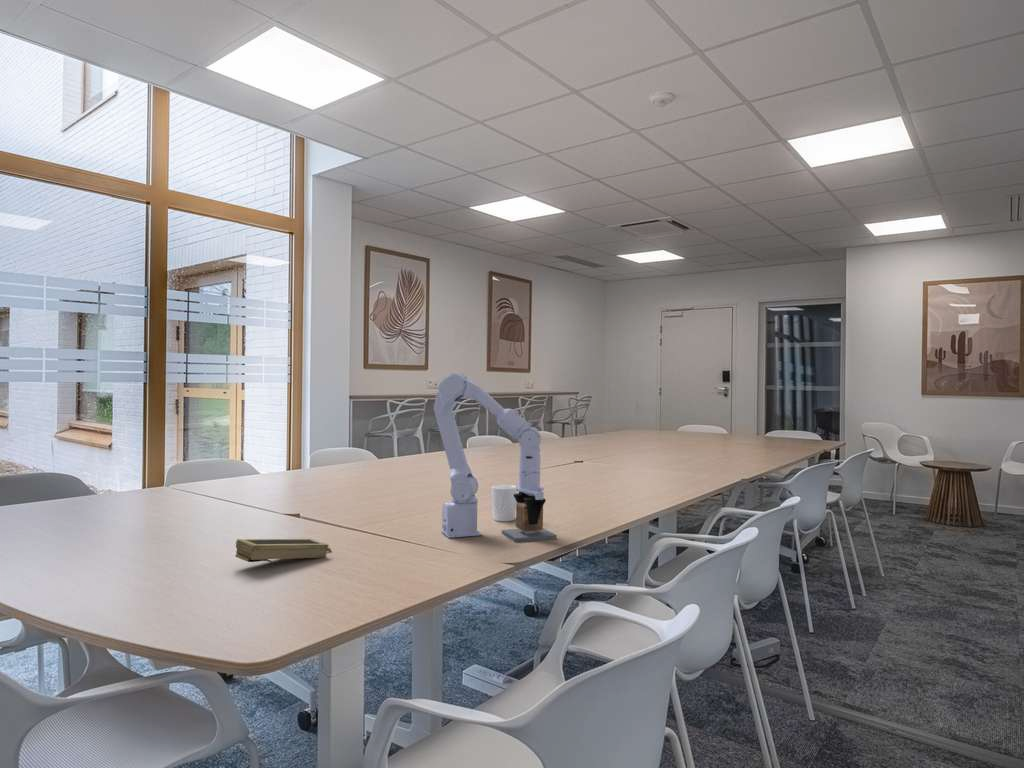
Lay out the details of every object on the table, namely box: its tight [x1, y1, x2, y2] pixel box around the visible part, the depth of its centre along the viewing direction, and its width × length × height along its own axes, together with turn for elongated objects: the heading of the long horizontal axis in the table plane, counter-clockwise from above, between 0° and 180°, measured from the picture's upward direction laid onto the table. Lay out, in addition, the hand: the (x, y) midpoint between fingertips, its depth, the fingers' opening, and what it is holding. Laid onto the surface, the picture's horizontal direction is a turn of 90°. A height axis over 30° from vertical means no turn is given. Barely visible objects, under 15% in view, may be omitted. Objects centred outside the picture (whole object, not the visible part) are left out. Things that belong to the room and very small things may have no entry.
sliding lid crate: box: [515, 502, 544, 531], centre depth 169 cm, size 6×6×7 cm
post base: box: [501, 527, 558, 543], centre depth 169 cm, size 12×10×5 cm
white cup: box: [491, 484, 518, 522], centre depth 190 cm, size 8×8×10 cm
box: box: [234, 538, 332, 565], centre depth 142 cm, size 8×22×5 cm, turn 141°
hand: (528, 521), depth 169 cm, fingers closed on sliding lid crate, 5 cm apart
